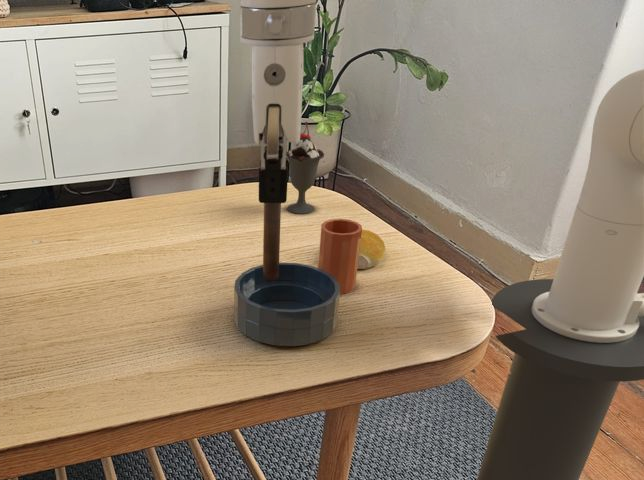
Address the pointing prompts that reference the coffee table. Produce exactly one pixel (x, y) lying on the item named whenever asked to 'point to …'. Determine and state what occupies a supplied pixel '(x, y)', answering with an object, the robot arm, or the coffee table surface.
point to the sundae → (303, 170)
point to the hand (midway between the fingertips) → (273, 196)
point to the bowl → (286, 305)
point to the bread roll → (370, 250)
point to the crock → (340, 251)
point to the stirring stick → (271, 240)
